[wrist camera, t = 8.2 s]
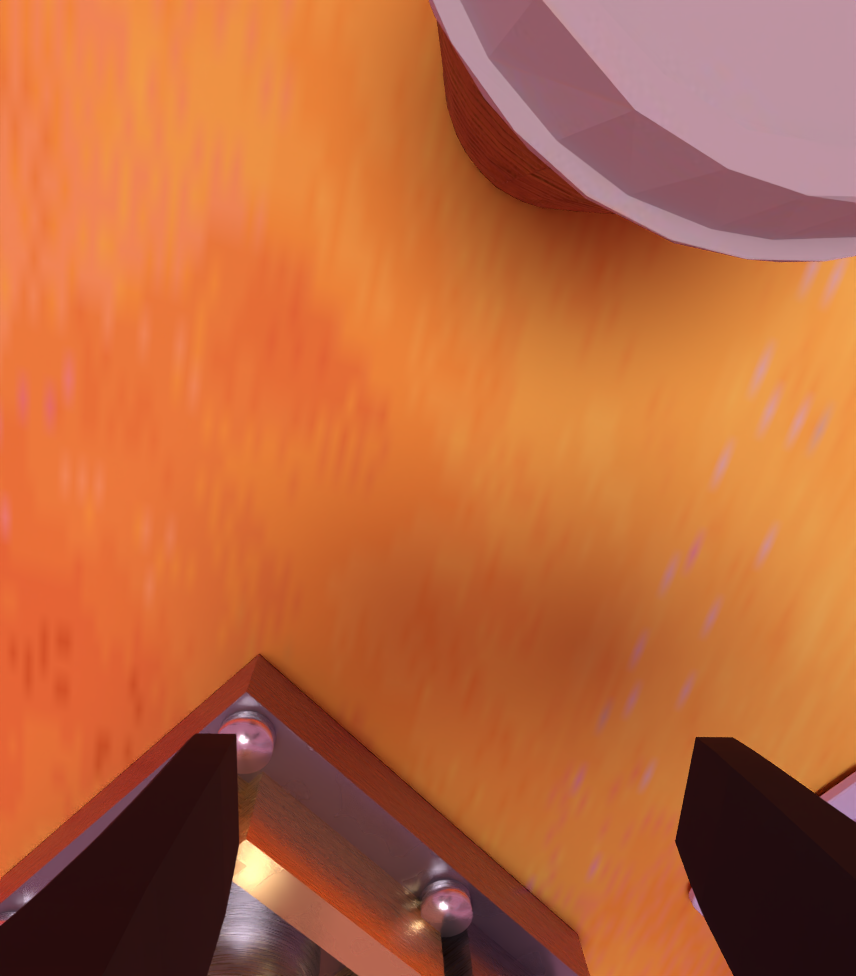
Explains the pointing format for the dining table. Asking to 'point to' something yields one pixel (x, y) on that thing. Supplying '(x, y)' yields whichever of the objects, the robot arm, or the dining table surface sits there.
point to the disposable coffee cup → (666, 114)
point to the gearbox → (336, 848)
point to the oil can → (261, 942)
